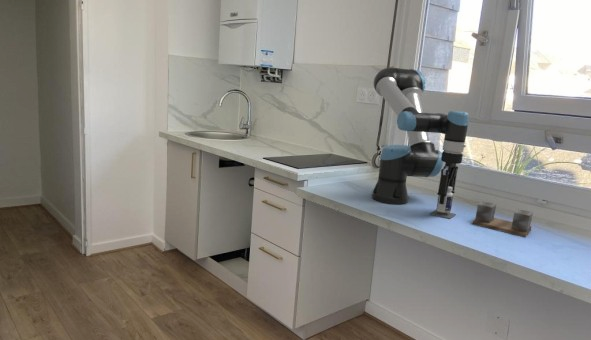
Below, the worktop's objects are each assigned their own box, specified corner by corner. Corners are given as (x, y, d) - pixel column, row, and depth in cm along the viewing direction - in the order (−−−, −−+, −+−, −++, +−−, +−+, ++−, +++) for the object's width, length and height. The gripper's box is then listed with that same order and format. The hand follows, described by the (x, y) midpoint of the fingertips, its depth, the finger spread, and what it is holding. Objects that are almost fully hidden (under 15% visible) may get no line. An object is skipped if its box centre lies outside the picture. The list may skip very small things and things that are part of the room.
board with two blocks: (472, 224, 162) (475, 205, 161) (480, 217, 172) (483, 199, 170) (525, 237, 152) (529, 217, 150) (531, 229, 162) (534, 210, 160)
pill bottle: (451, 213, 168) (455, 189, 166) (437, 211, 169) (440, 187, 167) (449, 209, 173) (453, 186, 171) (435, 208, 174) (439, 184, 172)
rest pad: (429, 214, 170) (429, 213, 170) (436, 210, 177) (436, 209, 177) (449, 219, 166) (449, 218, 166) (456, 215, 172) (456, 214, 172)
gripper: (455, 155, 157) (445, 217, 162) (469, 151, 172) (459, 208, 176) (434, 152, 161) (425, 212, 166) (450, 148, 176) (441, 203, 181)
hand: (443, 210), depth 171 cm, fingers closed on pill bottle, 5 cm apart
